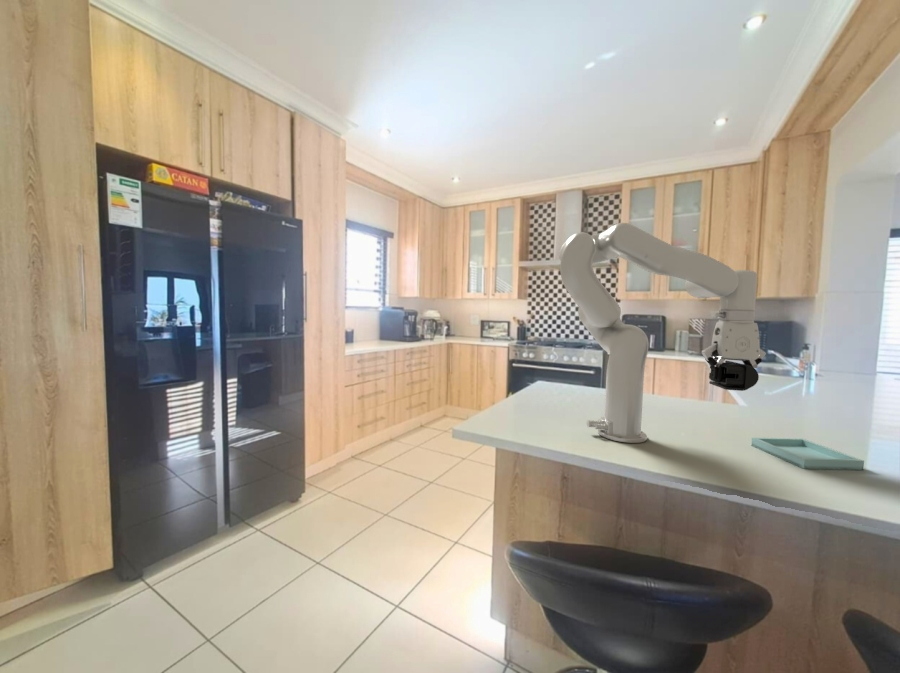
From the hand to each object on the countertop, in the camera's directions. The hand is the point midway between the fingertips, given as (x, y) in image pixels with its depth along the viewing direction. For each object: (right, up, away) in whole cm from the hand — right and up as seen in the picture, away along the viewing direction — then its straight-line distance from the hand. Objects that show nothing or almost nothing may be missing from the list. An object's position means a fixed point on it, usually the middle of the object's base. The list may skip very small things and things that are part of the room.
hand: (731, 381), depth 99 cm
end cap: (0, -2, 0) cm, 2 cm away
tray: (+11, -18, -9) cm, 23 cm away
